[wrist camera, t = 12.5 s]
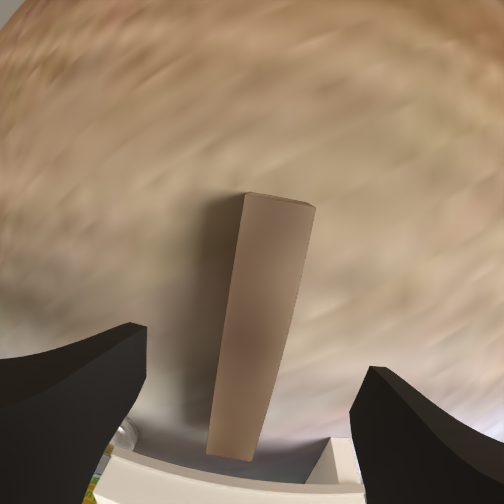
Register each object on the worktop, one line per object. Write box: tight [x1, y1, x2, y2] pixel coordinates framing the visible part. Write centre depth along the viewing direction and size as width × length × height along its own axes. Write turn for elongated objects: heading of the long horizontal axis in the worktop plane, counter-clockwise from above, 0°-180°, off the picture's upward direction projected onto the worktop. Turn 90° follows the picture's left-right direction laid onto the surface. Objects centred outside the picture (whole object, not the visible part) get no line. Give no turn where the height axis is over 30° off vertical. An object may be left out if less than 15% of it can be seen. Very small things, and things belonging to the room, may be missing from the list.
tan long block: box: [205, 192, 316, 461], centre depth 16 cm, size 3×16×4 cm, turn 170°
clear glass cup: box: [103, 417, 139, 457], centre depth 20 cm, size 5×5×2 cm
